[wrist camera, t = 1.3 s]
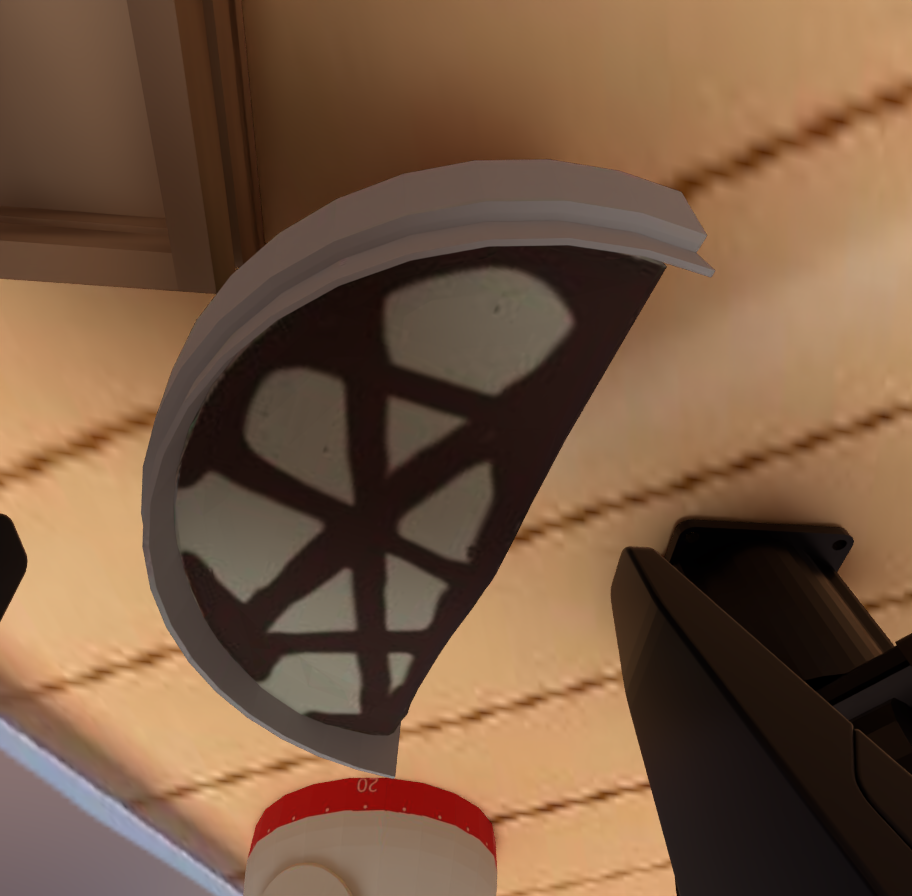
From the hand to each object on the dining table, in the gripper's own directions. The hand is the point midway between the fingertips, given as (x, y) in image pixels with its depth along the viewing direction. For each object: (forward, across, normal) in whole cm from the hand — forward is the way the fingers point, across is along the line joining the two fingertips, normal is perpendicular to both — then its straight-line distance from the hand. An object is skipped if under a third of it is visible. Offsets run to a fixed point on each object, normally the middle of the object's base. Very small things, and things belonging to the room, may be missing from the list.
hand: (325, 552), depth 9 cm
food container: (+10, 0, 0) cm, 10 cm away
